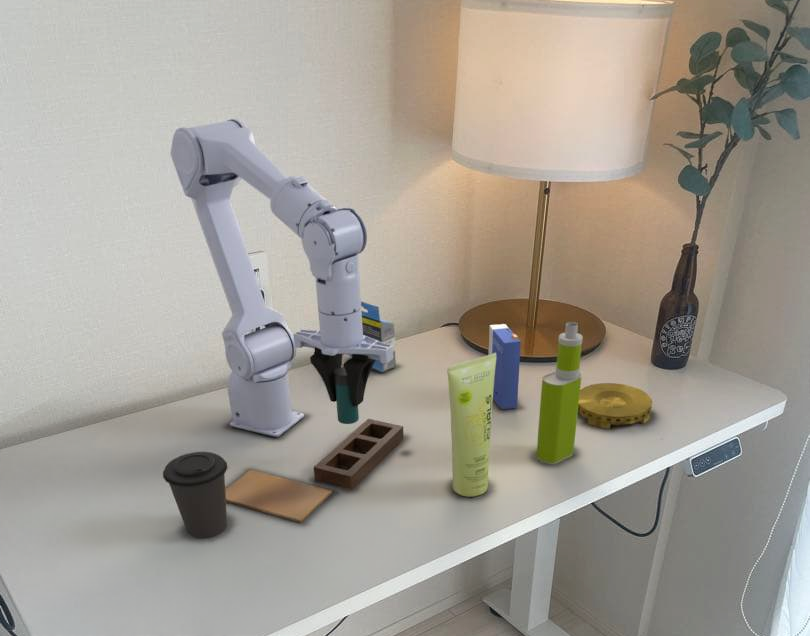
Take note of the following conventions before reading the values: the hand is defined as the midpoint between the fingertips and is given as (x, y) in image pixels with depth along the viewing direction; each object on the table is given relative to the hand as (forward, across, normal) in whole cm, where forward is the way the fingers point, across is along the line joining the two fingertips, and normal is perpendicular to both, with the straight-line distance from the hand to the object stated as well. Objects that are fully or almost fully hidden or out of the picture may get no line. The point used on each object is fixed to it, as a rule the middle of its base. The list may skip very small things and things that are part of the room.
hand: (346, 401), depth 114 cm
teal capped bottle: (+3, 0, 0) cm, 3 cm away
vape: (+10, +27, +14) cm, 32 cm away
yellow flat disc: (+10, +31, +32) cm, 45 cm away
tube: (+10, +19, 0) cm, 21 cm away
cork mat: (+10, -5, -12) cm, 17 cm away
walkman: (+10, +13, +29) cm, 33 cm away
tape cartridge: (+10, -14, +33) cm, 37 cm away
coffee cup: (+10, -9, -22) cm, 26 cm away
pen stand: (+10, +1, +2) cm, 10 cm away
